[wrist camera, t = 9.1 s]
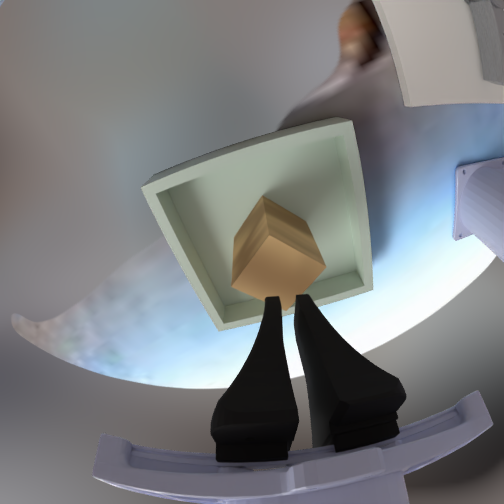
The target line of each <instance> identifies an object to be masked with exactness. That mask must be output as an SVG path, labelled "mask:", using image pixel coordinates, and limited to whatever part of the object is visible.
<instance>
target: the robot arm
mask: <svg viewBox="0 0 504 504" xmlns="http://www.w3.org/2000/svg"><path fill="white" fill-rule="evenodd" d="M463 170H464V171H463ZM455 179H456V182H455V214H454V227H453V239H454V240H455V241H457V240H459V239H462V238H465V237H467V236H470V235H472V234H474V235H475V236H476V237H477V238H478V239H480V240H481V241H482V242H483V243H484V244H485V245H486V246H487V247H488V248H489V249H490V250H491V251H493V252H494V253H495V254H496V255H497V256H498V257H499V258H500V259H501V260H502V261H503V262H504V157H502V158H496V159H491V160H487V161H482V162H477V163H472V164H468V165H463V166H459V167H457V168H456V172H455ZM294 329H295V336H296V342H297V346H298V350H299V354H300V358H301V362H302V366H303V370H304V374H305V378H306V384H307V391H308V399H309V408H310V417H311V429H312V444H313V448H310V449H303V450H295V451H290V447H291V444H292V441H294V437H295V434H296V431H297V427H298V423H299V416H298V409H297V405H296V401H295V397H294V393H293V389H292V384H291V380H290V375H289V370H288V365H287V360H286V355H285V349H284V343H283V327H282V306H281V301H280V297H279V296H271V297H266V298H265V307H264V313H263V318H262V322H261V325H260V329H259V332H258V335H257V337H256V340H255V343H254V345H253V347H252V350H251V352H250V354H249V356H248V358H247V360H246V362H245V363H244V365H243V367H242V369H241V370H240V372H239V374H238V375H237V377H236V378H235V380H234V381H233V383H232V384H231V385H230V387H229V388H228V389H227V391H226V392H225V393H224V394H223V396H222V397H221V398H220V399H219V401H218V403H217V405H216V408H215V410H214V413H213V416H212V420H211V436H212V437H213V439H214V441H215V442H216V454H210V453H194V452H181V451H172V450H165V449H157V448H150V447H144V446H139V445H133V444H132V443H131V442H130V441H128V440H127V439H124V438H121V437H117V436H113V435H108V434H104V433H102V434H101V435H100V439H99V444H98V448H97V453H96V458H95V462H94V467H93V473H92V476H93V477H94V478H97V479H99V480H101V481H104V482H106V483H108V484H111V485H113V486H116V487H119V488H122V489H126V490H130V491H134V492H138V493H143V494H147V495H151V496H156V497H161V498H166V499H172V500H179V501H186V502H193V503H203V504H409V499H408V494H407V490H406V485H405V481H404V476H403V475H405V474H408V473H410V472H412V471H415V470H417V469H419V468H422V467H424V466H426V465H428V464H430V463H432V462H434V461H436V460H438V459H440V458H442V457H444V456H446V455H448V454H450V453H451V452H453V451H455V450H457V449H459V448H461V447H462V446H464V445H466V444H468V443H469V442H470V441H472V440H473V439H475V438H476V437H478V436H479V435H480V434H482V433H483V432H484V431H486V430H487V429H488V428H490V427H491V426H492V425H493V423H492V420H491V418H490V415H489V413H488V410H487V408H486V406H485V404H484V401H483V399H482V397H481V395H480V393H479V391H478V390H477V391H475V392H473V393H471V394H469V395H467V396H465V397H464V398H462V399H461V400H460V401H459V402H458V403H457V404H456V405H455V406H453V407H451V408H449V409H447V410H445V411H442V412H440V413H438V414H435V415H433V416H430V417H428V418H425V419H423V420H420V421H418V422H415V423H412V424H409V425H406V426H403V427H400V428H398V425H397V421H396V420H397V419H398V415H397V412H396V411H397V410H398V409H399V408H400V406H401V405H402V404H403V403H404V401H405V400H406V393H405V390H404V388H403V386H402V384H401V382H400V380H399V379H398V378H396V377H395V376H393V375H391V374H389V373H387V372H386V371H384V370H382V369H381V368H379V367H377V366H376V365H374V364H373V363H372V362H370V361H369V360H367V359H366V358H365V357H364V356H362V355H361V354H360V353H358V352H357V351H356V350H355V349H354V348H353V347H352V346H351V345H349V344H348V343H347V342H346V341H345V340H344V339H343V338H342V337H341V336H340V334H339V333H338V332H337V331H336V330H335V329H334V328H333V327H332V325H331V324H330V323H329V322H328V320H327V319H326V318H325V317H324V315H323V314H322V313H321V311H320V310H319V309H318V307H317V306H316V304H315V303H314V301H313V300H312V298H311V297H310V295H309V294H299V295H296V300H295V313H294ZM282 467H284V468H282ZM269 468H278V469H270V470H261V471H254V470H252V469H269Z"/></svg>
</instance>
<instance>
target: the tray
mask: <svg viewBox="0 0 504 504" xmlns="http://www.w3.org/2000/svg"><path fill="white" fill-rule="evenodd" d="M141 189H142V192H143V194H144V196H145V198H146V200H147V202H148V204H149V206H150V208H151V210H152V212H153V214H154V216H155V218H156V220H157V222H158V224H159V226H160V228H161V230H162V232H163V234H164V236H165V238H166V240H167V242H168V244H169V245H170V247H171V249H172V251H173V253H174V255H175V257H176V259H177V260H178V262H179V264H180V266H181V268H182V270H183V271H184V273H185V275H186V277H187V279H188V280H189V282H190V284H191V286H192V287H193V289H194V291H195V293H196V294H197V296H198V298H199V299H200V301H201V303H202V305H203V306H204V308H205V310H206V311H207V313H208V315H209V316H210V318H211V320H212V321H213V323H214V325H215V326H216V328H217V329H218V331H223V330H228V329H232V328H237V327H241V326H245V325H250V324H254V323H258V322H262V318H263V313H264V307H265V302H264V301H262V300H259V299H257V298H255V297H253V296H250V295H248V294H246V293H244V292H241V291H239V290H237V289H235V288H233V287H231V281H232V262H233V245H234V236H235V235H236V233H237V232H238V230H239V229H240V227H241V226H242V224H243V223H244V221H245V220H246V218H247V217H248V215H249V214H250V212H251V211H252V209H253V208H254V206H255V205H256V203H257V202H258V200H259V199H260V198H261V196H262V195H263V196H264V197H266V198H268V199H270V200H271V201H273V202H275V203H276V204H278V205H280V206H282V207H283V208H285V209H287V210H288V211H290V212H292V213H293V214H295V215H296V216H298V217H300V218H301V219H303V220H305V221H306V222H307V224H308V226H309V229H310V231H311V233H312V235H313V237H314V240H315V242H316V244H317V246H318V248H319V251H320V253H321V255H322V258H323V260H324V262H325V264H326V268H325V269H324V270H323V271H322V273H321V274H320V275H319V276H318V277H317V278H316V279H315V280H314V282H313V283H312V284H311V285H310V286H309V287H308V288H307V289H306V290H305V292H304V293H303V294H309V295H310V297H311V298H312V300H313V301H314V303H315V304H316V306H317V307H319V306H323V305H326V304H330V303H333V302H336V301H340V300H343V299H346V298H349V297H353V296H356V295H359V294H362V293H365V292H368V291H371V290H373V271H372V253H371V240H370V229H369V219H368V210H367V202H366V194H365V187H364V180H363V174H362V168H361V162H360V156H359V151H358V146H357V141H356V136H355V131H354V127H353V122H352V120H348V119H344V118H340V117H333V118H329V119H324V120H320V121H315V122H311V123H307V124H303V125H298V126H295V127H291V128H287V129H283V130H279V131H276V132H272V133H269V134H265V135H262V136H259V137H255V138H252V139H249V140H245V141H243V142H239V143H236V144H233V145H230V146H227V147H224V148H222V149H218V150H216V151H213V152H210V153H207V154H204V155H202V156H199V157H197V158H194V159H191V160H189V161H186V162H183V163H181V164H178V165H176V166H173V167H171V168H168V169H166V170H164V171H161V172H159V173H157V174H155V175H153V176H152V177H151V178H150V179H149V180H148V181H147V182H146V183H145V184H144V185H143V186H142V187H141ZM294 313H295V302H294V303H293V305H292V306H291V307H290V308H289V309H288V310H287V311H285V310H282V316H286V315H290V314H294Z"/></svg>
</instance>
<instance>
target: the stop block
mask: <svg viewBox="0 0 504 504" xmlns="http://www.w3.org/2000/svg"><path fill="white" fill-rule="evenodd" d="M325 268H326V264H325V262H324V260H323V258H322V255H321V253H320V251H319V248H318V246H317V244H316V242H315V240H314V237H313V235H312V233H311V231H310V229H309V226H308V224H307V222H306V221H305V220H303V219H301V218H300V217H298V216H296V215H295V214H293V213H292V212H290V211H288V210H287V209H285V208H283V207H282V206H280V205H278V204H276V203H275V202H273V201H271V200H270V199H268V198H266V197H264V196H263V195H262V196H261V198H260V199H259V200H258V202H257V203H256V205H255V206H254V208H253V209H252V211H251V212H250V214H249V215H248V217H247V218H246V220H245V221H244V223H243V224H242V226H241V227H240V229H239V230H238V232H237V233H236V235H235V236H234V245H233V262H232V281H231V287H233V288H235V289H237V290H239V291H241V292H244V293H246V294H248V295H250V296H253V297H255V298H257V299H259V300H262V301H264V302H265V298H266V297H271V296H279V297H280V301H281V306H282V310H285V311H287V310H288V309H289V308H290V307H291V306H292V305H293V303H294V302H295V300H296V295H299V294H303V293H304V292H305V290H306V289H307V288H308V287H309V286H310V285H311V284H312V283H313V282H314V280H315V279H316V278H317V277H318V276H319V275H320V274H321V273H322V271H323V270H324V269H325Z"/></svg>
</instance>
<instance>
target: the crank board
mask: <svg viewBox="0 0 504 504" xmlns="http://www.w3.org/2000/svg"><path fill="white" fill-rule="evenodd" d="M372 1H373V3H374V5H375V8H376V10H377V13H378V15H379V18H380V21H381V23H382V26H383V29H384V32H385V35H386V37H387V40H388V44H389V47H390V50H391V53H392V57H393V60H394V64H395V67H396V71H397V75H398V79H399V83H400V87H401V92H402V97H403V101H404V106H408V107H417V106H428V105H441V104H462V103H499V104H504V86H502V85H496V84H493V83H491V82H488V81H486V80H483V72H482V63H481V56H480V49H479V43H478V38H477V33H476V28H475V24H474V20H473V16H472V12H471V8H470V6H469V5H468V4H467V3H466V2H465V1H464V0H372Z"/></svg>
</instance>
